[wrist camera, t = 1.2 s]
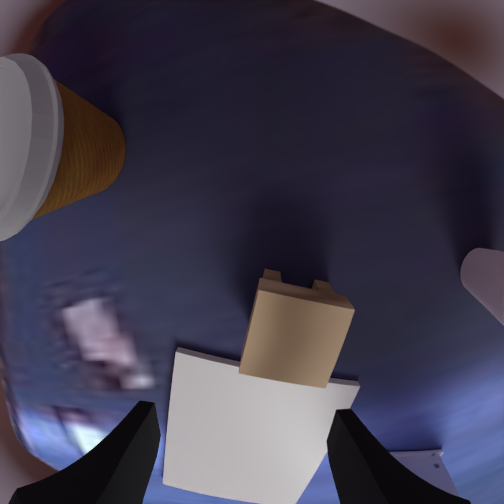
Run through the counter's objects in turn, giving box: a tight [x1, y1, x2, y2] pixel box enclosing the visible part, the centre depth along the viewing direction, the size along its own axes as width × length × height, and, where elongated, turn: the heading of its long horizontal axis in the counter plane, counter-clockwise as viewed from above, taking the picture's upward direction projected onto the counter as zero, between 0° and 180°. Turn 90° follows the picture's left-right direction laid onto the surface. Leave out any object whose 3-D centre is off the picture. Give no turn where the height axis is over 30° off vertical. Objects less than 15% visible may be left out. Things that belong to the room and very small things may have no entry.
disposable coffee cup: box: [0, 53, 126, 241], centre depth 16 cm, size 10×10×12 cm
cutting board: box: [163, 347, 360, 504], centre depth 26 cm, size 15×19×1 cm
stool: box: [239, 269, 355, 388], centre depth 20 cm, size 5×5×6 cm
